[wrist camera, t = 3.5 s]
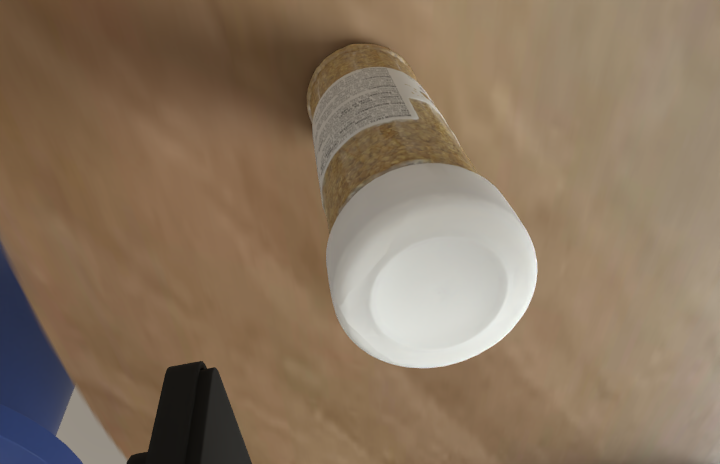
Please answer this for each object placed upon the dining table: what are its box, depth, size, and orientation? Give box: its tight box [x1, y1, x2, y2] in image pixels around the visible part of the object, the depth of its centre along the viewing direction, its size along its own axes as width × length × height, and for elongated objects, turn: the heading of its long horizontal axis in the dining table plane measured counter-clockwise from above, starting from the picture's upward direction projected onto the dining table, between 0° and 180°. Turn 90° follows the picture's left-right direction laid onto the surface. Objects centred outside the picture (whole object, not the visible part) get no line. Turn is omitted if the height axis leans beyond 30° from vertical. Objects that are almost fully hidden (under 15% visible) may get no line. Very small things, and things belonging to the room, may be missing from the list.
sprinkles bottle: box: [307, 43, 537, 368], centre depth 19 cm, size 5×5×14 cm
